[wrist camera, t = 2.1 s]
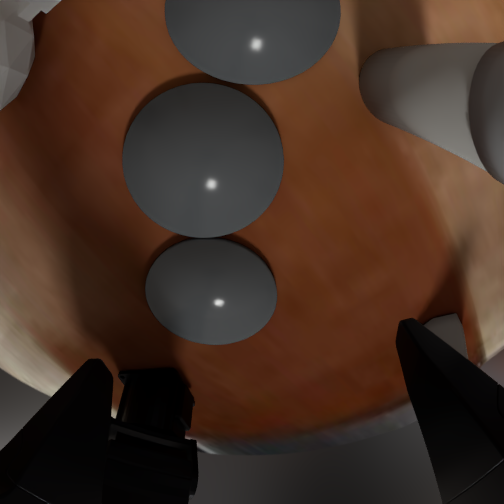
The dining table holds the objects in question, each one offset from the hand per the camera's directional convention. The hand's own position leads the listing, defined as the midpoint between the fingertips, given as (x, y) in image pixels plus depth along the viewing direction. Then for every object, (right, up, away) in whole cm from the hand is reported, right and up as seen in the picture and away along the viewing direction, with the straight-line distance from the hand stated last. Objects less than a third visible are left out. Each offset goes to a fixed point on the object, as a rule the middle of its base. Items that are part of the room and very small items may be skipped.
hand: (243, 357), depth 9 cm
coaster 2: (-3, 0, +16) cm, 16 cm away
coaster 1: (0, +17, +6) cm, 18 cm away
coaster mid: (-3, +8, +11) cm, 14 cm away
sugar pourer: (+9, +13, +8) cm, 18 cm away
